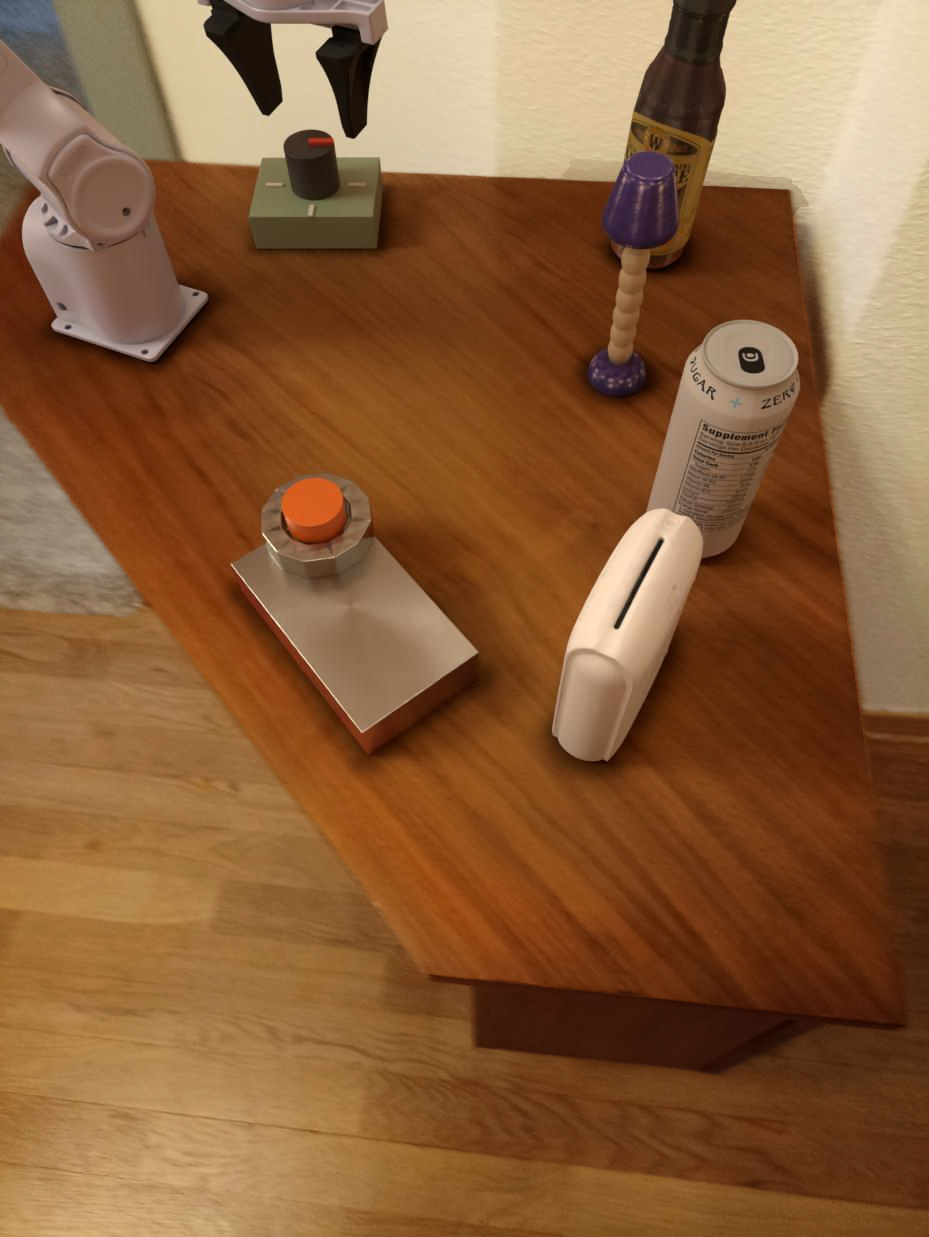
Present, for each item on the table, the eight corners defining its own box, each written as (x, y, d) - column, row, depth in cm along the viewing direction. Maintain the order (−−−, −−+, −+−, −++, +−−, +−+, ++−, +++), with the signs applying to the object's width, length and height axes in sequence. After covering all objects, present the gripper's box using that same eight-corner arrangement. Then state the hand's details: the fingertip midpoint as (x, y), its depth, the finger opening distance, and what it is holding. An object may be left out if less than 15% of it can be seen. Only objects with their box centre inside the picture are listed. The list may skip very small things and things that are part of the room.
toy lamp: (641, 406, 63) (688, 191, 49) (576, 397, 64) (605, 182, 50) (647, 360, 66) (694, 141, 51) (585, 351, 66) (614, 133, 52)
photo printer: (612, 606, 55) (644, 477, 44) (677, 634, 54) (726, 509, 43) (539, 742, 50) (556, 635, 40) (609, 776, 49) (644, 675, 39)
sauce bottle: (594, 256, 72) (630, -20, 55) (632, 216, 74) (678, -60, 57) (666, 286, 70) (726, 9, 53) (702, 243, 73) (771, -33, 55)
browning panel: (256, 249, 73) (247, 215, 70) (269, 189, 77) (261, 154, 74) (376, 249, 73) (373, 215, 70) (383, 189, 77) (379, 154, 74)
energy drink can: (729, 492, 59) (798, 311, 46) (742, 566, 56) (821, 395, 43) (639, 492, 59) (683, 311, 46) (648, 566, 56) (698, 395, 43)
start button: (275, 515, 53) (269, 497, 52) (325, 486, 54) (321, 467, 53) (307, 554, 52) (302, 536, 50) (358, 523, 53) (355, 505, 51)
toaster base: (228, 574, 56) (207, 527, 52) (342, 506, 59) (331, 456, 55) (368, 755, 50) (357, 719, 46) (488, 670, 53) (489, 628, 48)
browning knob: (288, 200, 71) (279, 155, 68) (294, 170, 73) (285, 125, 70) (337, 200, 71) (331, 155, 68) (342, 170, 73) (335, 125, 70)
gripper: (398, -105, 55) (422, 109, 67) (209, -138, 59) (264, 69, 71) (339, -47, 52) (375, 165, 64) (145, -87, 56) (213, 120, 68)
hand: (313, 119), depth 67 cm, fingers open, 7 cm apart
